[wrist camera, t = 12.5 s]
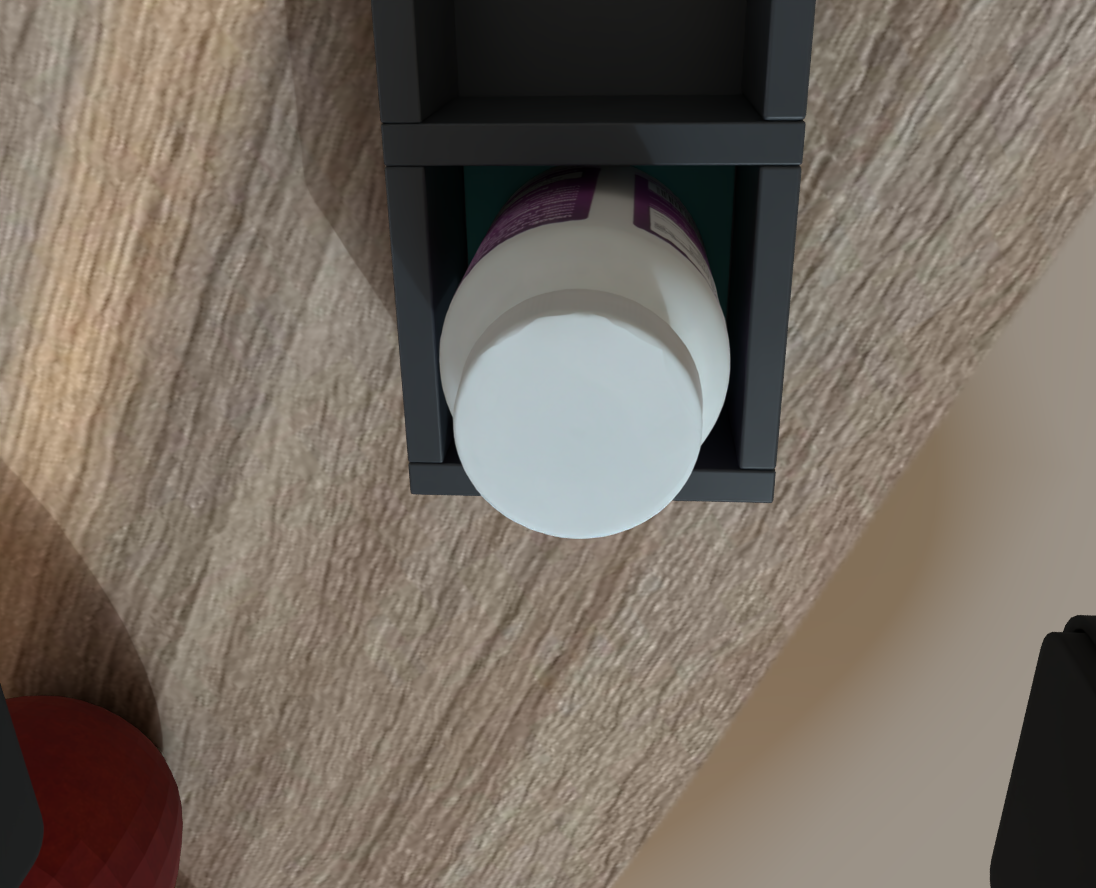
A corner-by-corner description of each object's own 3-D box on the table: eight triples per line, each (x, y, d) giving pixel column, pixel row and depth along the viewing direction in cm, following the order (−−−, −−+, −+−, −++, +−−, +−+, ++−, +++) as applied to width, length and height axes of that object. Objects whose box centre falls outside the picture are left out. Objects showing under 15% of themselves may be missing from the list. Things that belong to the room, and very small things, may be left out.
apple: (-94, 759, 35) (-352, 1039, 26) (24, 574, 31) (-229, 823, 22) (150, 898, 37) (-11, 1204, 28) (288, 738, 33) (155, 1031, 24)
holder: (407, -273, 21) (342, -339, 17) (800, -288, 21) (847, -360, 16) (448, 407, 28) (410, 495, 23) (750, 412, 27) (773, 503, 22)
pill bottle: (481, 363, 26) (402, 562, 17) (489, 147, 24) (403, 253, 15) (694, 381, 26) (723, 592, 17) (722, 165, 24) (771, 283, 15)
